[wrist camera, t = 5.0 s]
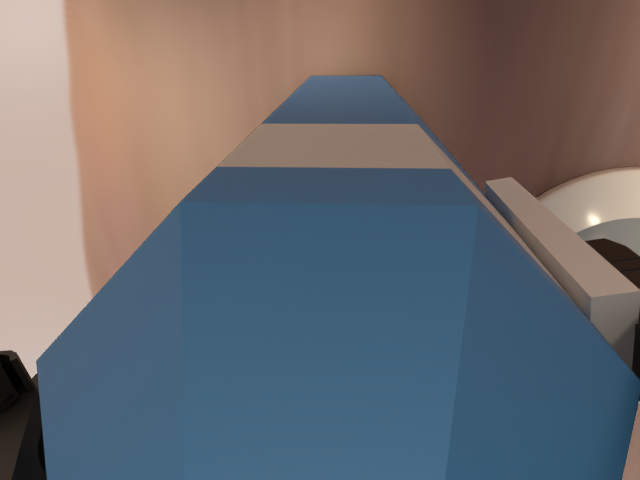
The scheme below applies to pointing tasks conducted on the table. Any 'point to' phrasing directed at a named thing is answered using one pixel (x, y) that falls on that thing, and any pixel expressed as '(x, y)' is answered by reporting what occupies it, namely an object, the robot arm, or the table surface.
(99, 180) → the table surface
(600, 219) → the cream plate
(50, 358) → the water bottle
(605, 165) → the table surface
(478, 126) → the table surface
